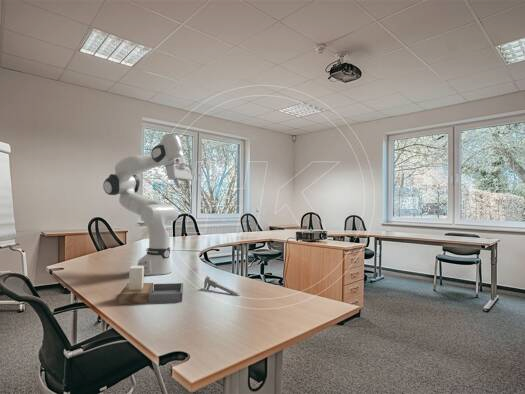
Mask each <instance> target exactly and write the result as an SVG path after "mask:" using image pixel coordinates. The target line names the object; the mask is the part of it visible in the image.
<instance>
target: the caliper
mask: <svg viewBox="0 0 525 394" xmlns="http://www.w3.org/2000/svg"><path fill="white" fill-rule="evenodd" d="M203 285H204V286H203V288H204V289H207V290H209V289H210V288H211V287H212V288H213V289H216V288H218V289H219V290H221V291H225V292H226V293H228V294H230V295H233V296H237V297H239V296H240V294H239V293H238V292H237V291H235V290H233V289H230V288H229V287H226V286H224V285H222V284H220V283H218V282H217V281H215V280H213V279H211V276H209V275H206V277H205V278H204V282H203Z"/></svg>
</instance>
